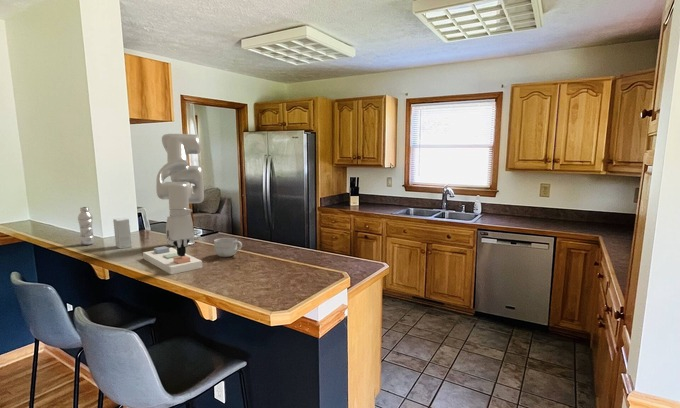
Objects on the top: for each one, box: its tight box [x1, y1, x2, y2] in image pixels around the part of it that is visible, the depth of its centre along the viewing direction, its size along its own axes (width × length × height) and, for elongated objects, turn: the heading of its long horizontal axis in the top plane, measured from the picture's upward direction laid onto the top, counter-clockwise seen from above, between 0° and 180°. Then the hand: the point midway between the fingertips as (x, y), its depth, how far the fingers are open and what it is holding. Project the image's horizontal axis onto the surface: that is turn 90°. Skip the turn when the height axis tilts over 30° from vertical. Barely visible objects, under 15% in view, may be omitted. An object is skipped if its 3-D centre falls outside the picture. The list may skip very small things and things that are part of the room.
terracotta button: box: [173, 255, 190, 264], centre depth 153 cm, size 5×5×2 cm
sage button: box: [163, 253, 178, 259], centre depth 160 cm, size 5×5×2 cm
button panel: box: [142, 247, 203, 275], centre depth 161 cm, size 13×32×3 cm, turn 46°
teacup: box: [213, 237, 243, 258], centre depth 173 cm, size 14×11×8 cm
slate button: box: [153, 245, 170, 254], centre depth 168 cm, size 5×5×2 cm
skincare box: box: [112, 217, 133, 250], centre depth 188 cm, size 8×6×15 cm
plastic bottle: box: [77, 206, 96, 246], centre depth 191 cm, size 6×7×20 cm
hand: (181, 255), depth 152 cm, fingers closed
